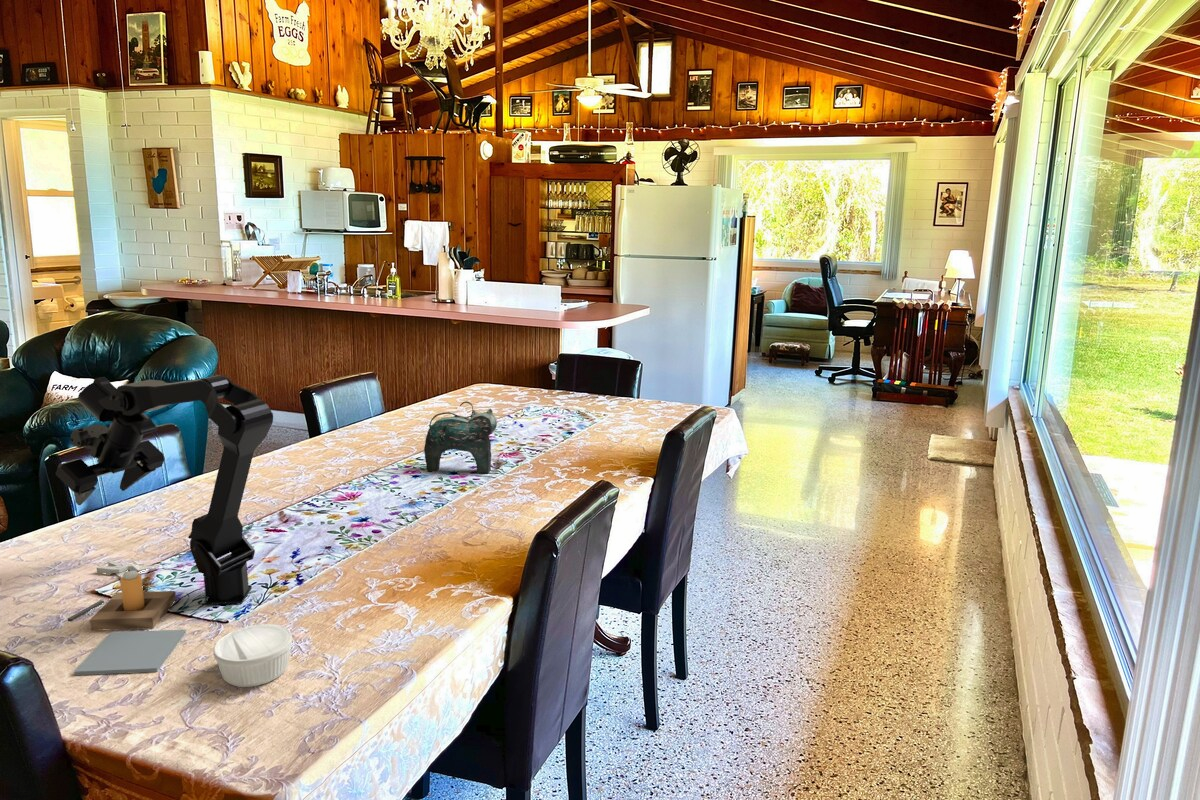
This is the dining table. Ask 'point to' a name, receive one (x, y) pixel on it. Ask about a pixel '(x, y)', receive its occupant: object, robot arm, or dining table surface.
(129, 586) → the orange cylinder
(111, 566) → the pliers
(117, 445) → the robot arm
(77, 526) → the dining table surface
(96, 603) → the strip
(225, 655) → the ramekin
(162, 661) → the rubber mat
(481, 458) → the green animal figurine
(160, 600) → the brown square frame
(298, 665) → the dining table surface
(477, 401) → the dining table surface
